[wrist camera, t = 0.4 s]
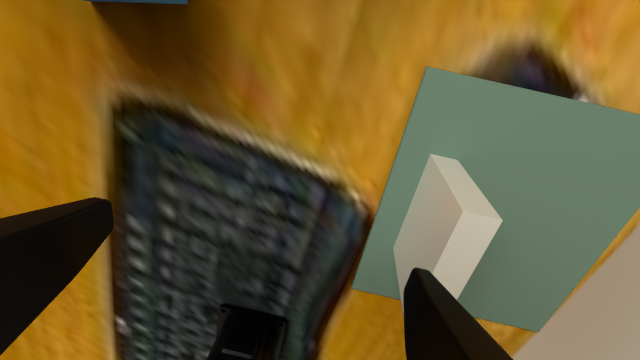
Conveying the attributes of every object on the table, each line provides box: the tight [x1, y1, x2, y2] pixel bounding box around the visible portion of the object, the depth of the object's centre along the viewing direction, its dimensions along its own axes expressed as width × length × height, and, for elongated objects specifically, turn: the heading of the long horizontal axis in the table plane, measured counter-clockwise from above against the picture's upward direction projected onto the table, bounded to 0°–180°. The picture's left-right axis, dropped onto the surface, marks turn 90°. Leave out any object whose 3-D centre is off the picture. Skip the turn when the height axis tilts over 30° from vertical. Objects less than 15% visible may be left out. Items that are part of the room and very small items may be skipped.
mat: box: [352, 66, 640, 332], centre depth 22 cm, size 18×16×1 cm
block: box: [393, 154, 503, 316], centre depth 19 cm, size 8×2×7 cm, turn 169°
